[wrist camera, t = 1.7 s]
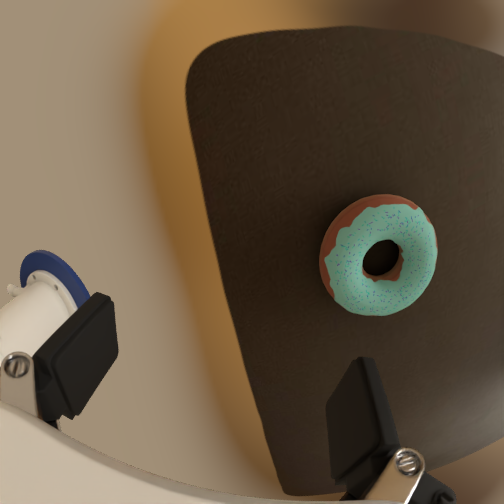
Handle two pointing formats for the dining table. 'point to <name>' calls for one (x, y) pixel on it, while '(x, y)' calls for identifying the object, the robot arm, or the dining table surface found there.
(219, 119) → the dining table surface
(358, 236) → the donut
